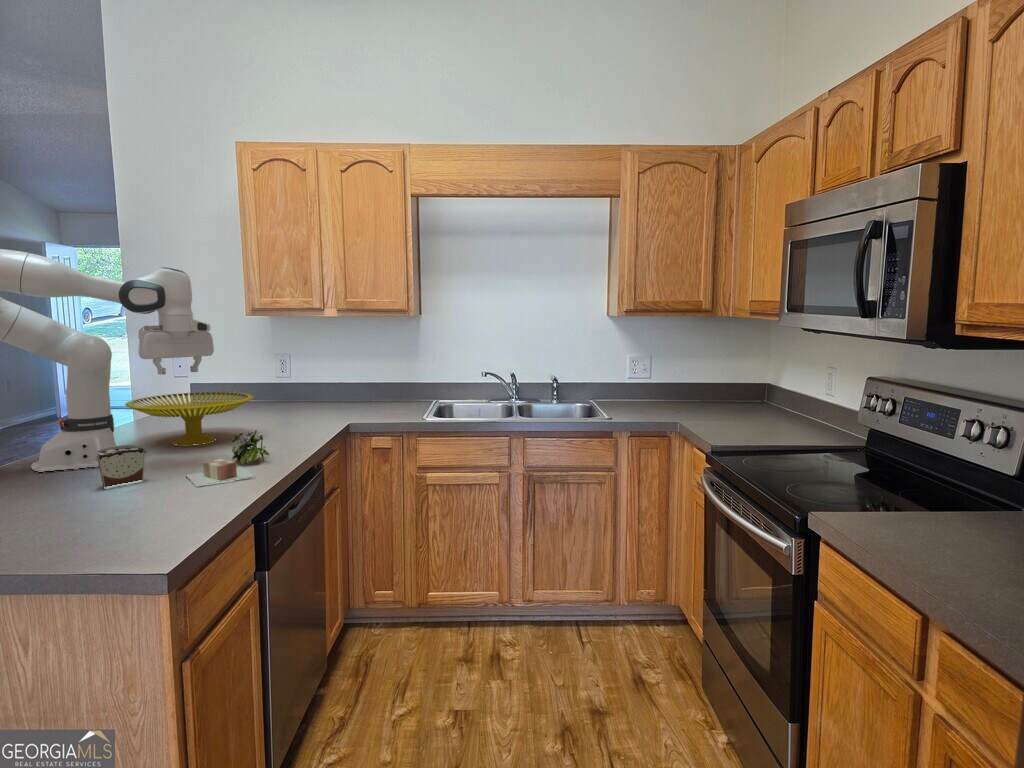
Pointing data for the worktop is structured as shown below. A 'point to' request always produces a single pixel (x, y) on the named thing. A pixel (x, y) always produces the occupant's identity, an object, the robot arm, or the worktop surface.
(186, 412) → the cake stand
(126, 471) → the food container
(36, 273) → the robot arm
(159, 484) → the worktop surface
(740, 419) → the worktop surface
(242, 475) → the sage mat
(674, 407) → the worktop surface
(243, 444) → the passion flower
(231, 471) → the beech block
